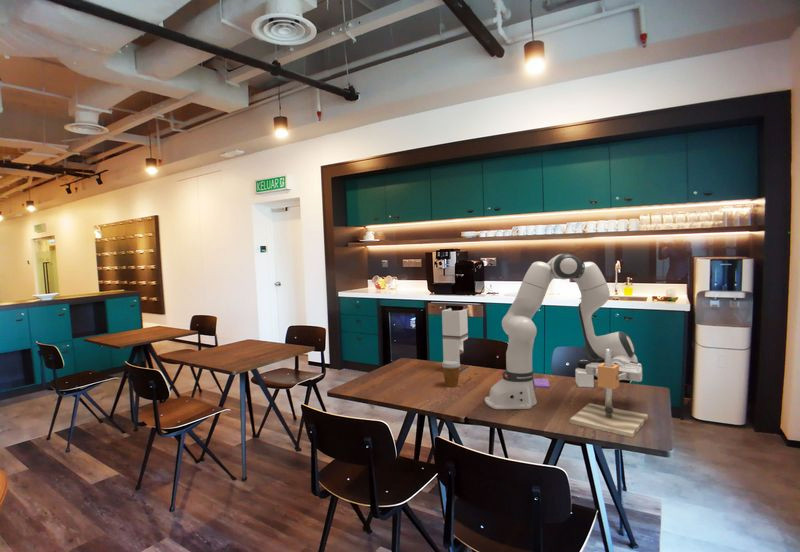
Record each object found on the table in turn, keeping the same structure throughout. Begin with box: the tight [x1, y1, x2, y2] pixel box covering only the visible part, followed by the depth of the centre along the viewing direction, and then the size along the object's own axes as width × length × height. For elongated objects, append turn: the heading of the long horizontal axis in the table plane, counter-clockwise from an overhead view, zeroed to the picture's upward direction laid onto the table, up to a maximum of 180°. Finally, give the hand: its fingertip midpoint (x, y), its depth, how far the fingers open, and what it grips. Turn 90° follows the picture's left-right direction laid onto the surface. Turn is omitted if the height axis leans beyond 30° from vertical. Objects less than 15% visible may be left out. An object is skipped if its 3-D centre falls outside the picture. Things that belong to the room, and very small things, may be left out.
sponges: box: [533, 378, 551, 389], centre depth 214 cm, size 7×13×2 cm, turn 166°
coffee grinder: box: [441, 307, 470, 374], centre depth 244 cm, size 11×11×35 cm
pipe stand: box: [569, 403, 649, 438], centre depth 166 cm, size 22×22×2 cm
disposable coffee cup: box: [441, 360, 462, 388], centre depth 217 cm, size 10×10×12 cm
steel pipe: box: [604, 349, 614, 418], centre depth 165 cm, size 3×3×26 cm
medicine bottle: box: [574, 359, 595, 388], centre depth 210 cm, size 7×7×12 cm
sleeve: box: [597, 362, 620, 390], centre depth 165 cm, size 6×6×8 cm
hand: (607, 376), depth 164 cm, fingers closed on sleeve, 6 cm apart
